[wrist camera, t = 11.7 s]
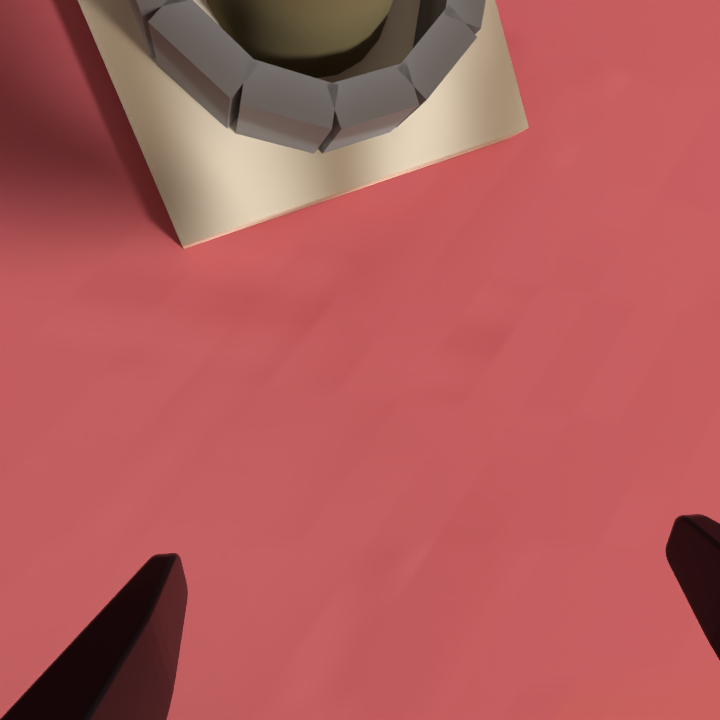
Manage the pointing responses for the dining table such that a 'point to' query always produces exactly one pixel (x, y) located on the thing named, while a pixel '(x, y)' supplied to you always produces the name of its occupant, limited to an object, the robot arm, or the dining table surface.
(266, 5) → the cork
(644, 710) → the dining table surface
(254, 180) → the collar board
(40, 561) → the dining table surface
